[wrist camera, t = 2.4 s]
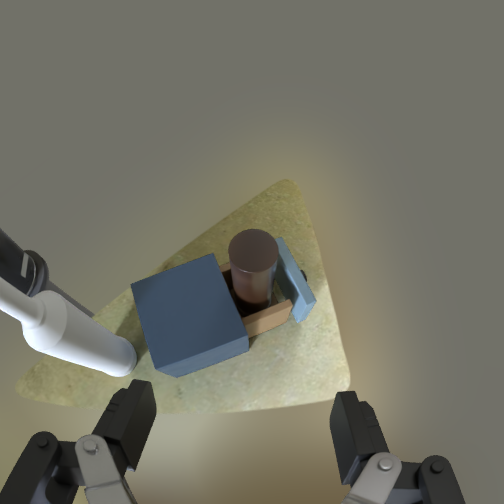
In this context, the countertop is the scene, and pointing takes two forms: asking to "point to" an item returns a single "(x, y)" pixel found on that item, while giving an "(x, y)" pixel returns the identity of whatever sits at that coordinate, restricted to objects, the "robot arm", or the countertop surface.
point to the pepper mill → (253, 270)
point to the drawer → (277, 314)
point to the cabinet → (189, 317)
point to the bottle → (67, 331)
